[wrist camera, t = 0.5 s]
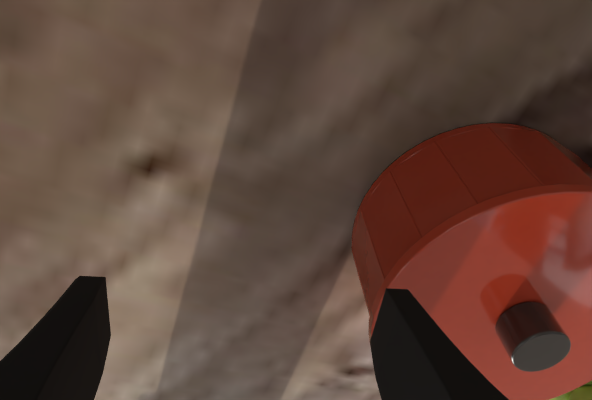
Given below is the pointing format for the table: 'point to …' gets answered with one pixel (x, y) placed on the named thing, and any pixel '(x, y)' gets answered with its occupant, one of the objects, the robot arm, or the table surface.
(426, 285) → the pot lid
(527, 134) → the pot
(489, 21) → the table surface
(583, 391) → the grapes
